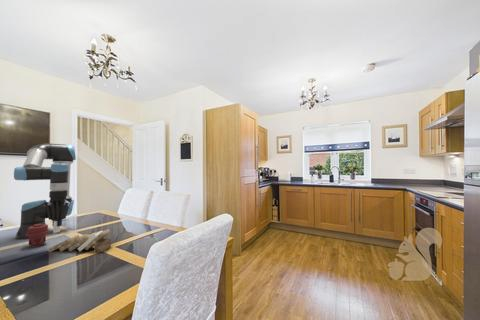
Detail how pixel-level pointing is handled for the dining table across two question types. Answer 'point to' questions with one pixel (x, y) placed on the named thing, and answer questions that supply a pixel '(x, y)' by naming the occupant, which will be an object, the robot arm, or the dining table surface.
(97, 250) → the stop block
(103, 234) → the domino
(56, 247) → the domino
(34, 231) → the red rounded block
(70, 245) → the domino
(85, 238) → the domino
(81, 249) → the domino
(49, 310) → the dining table surface
